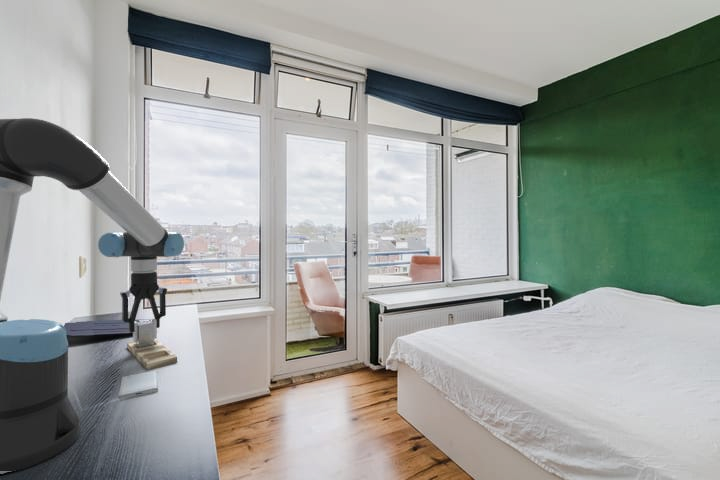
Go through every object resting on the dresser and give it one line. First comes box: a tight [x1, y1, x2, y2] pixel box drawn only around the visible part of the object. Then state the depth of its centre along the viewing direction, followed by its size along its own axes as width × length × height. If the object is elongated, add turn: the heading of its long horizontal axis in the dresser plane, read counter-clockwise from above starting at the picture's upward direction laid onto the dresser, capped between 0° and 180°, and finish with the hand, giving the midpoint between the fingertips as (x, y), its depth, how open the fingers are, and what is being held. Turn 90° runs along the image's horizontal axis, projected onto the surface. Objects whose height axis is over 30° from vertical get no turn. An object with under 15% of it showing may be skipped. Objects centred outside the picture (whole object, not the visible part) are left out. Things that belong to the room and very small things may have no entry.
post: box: [136, 319, 154, 349], centre depth 114 cm, size 4×4×9 cm
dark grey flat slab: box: [63, 319, 140, 337], centre depth 135 cm, size 24×30×4 cm
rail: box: [126, 338, 178, 370], centre depth 109 cm, size 26×8×2 cm, turn 46°
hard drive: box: [118, 370, 159, 401], centre depth 88 cm, size 2×8×12 cm
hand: (144, 339), depth 114 cm, fingers open, 5 cm apart
